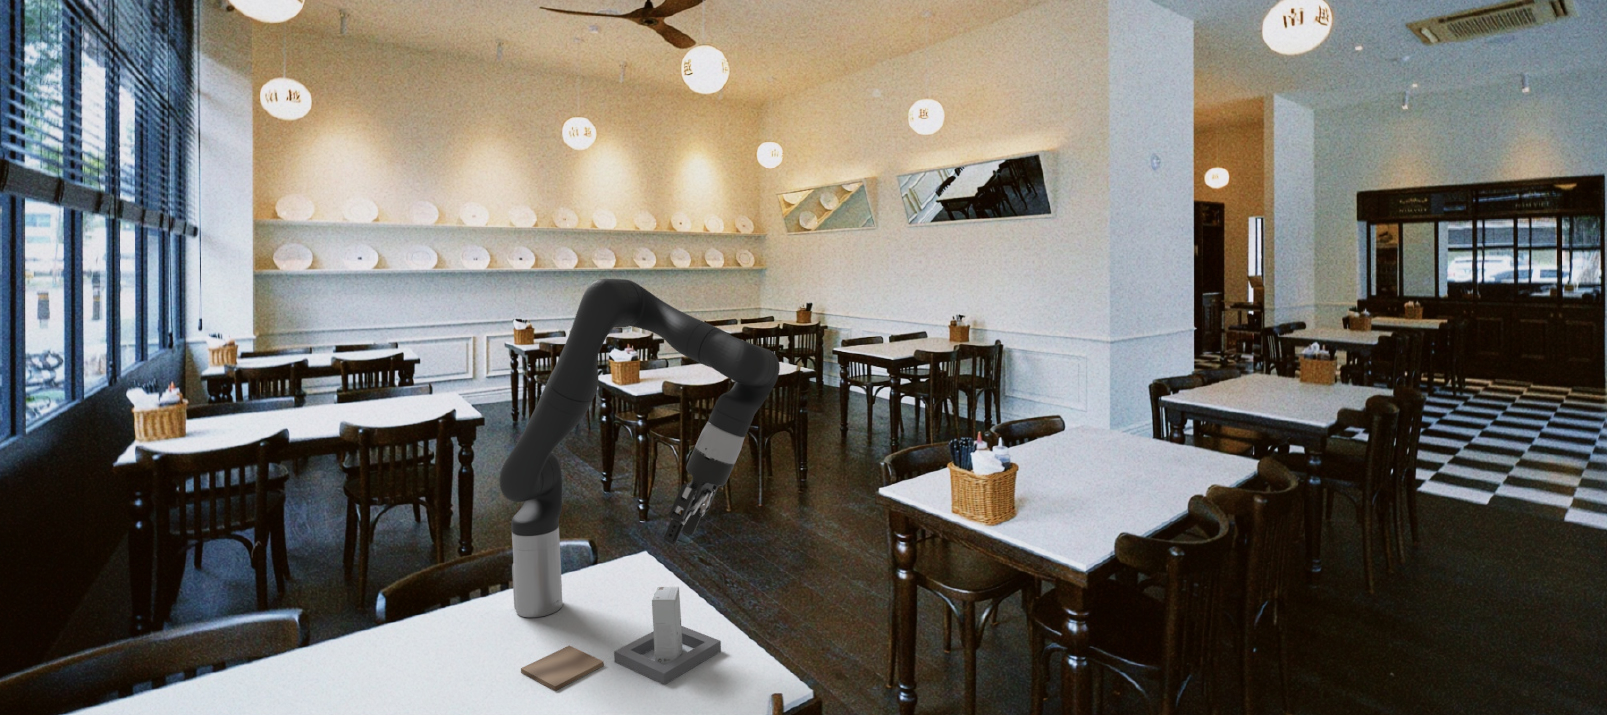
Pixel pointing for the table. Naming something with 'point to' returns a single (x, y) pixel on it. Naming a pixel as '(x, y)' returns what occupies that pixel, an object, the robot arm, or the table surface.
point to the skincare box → (667, 624)
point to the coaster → (562, 667)
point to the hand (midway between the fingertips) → (678, 537)
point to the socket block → (666, 673)
